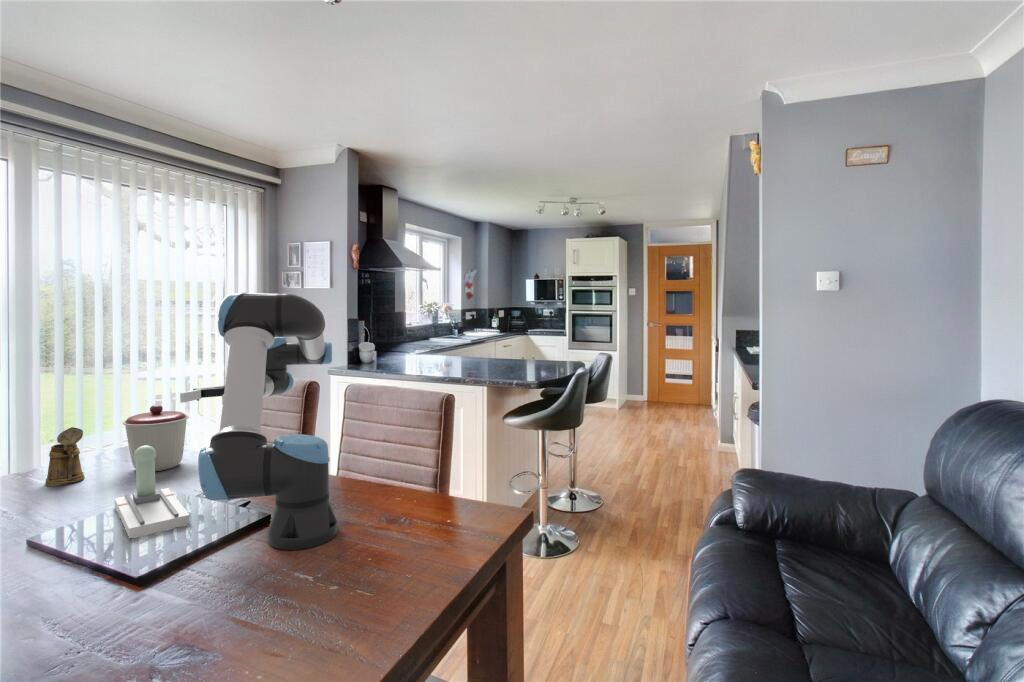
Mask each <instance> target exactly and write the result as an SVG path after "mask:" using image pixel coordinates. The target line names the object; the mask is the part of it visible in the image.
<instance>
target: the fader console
mask: <svg viewBox="0 0 1024 682" xmlns="http://www.w3.org/2000/svg"><path fill="white" fill-rule="evenodd" d="M155 489H157V490H158V492H159V493H160V499H159V500H154V501H149V502H145V503H140V504H136V503H135V502H134V500H133V494H130V493H125V494H124V496H119V497H115V498H114V508H116V509H115V511H116V510H117V511H116V513H117V512H118V513H117V515H118V514H119V515H118V517H119V516H120V517H119V519H120V518H121V520H122V522H121V523H123V524H122V526H123V525H124V526H123V528H124V527H125V528H124V530H126V531H125V532H127V533H126V535H127V534H128V535H127V536H129V537H128V539H129V540H131V539H130V538H133V539H136V538H140V536H141V537H145V536H149V535H152V533H153V534H157V533H161V532H160V531H162V532H164V531H163V530H166V531H168V530H167V529H170V528H174V529H176V528H175V527H178V528H180V527H179V526H182V527H185V526H184V525H187V526H189V525H188V524H190V525H191V521H190V519H191V518H190V517H191V516H190V515H191V514H190V513H189V512H188V511H187V509H185V507H184V506H183V505H182V503H181V502H180V501H179V500H178V498H177V497H176V495H175V494H174V493H173V492H172V491H171V490H170V488H169V487H166V488H160V487H155ZM121 520H120V521H121ZM170 530H171V529H170ZM156 532H157V533H156ZM148 534H149V535H148ZM144 535H145V536H144Z"/></svg>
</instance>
